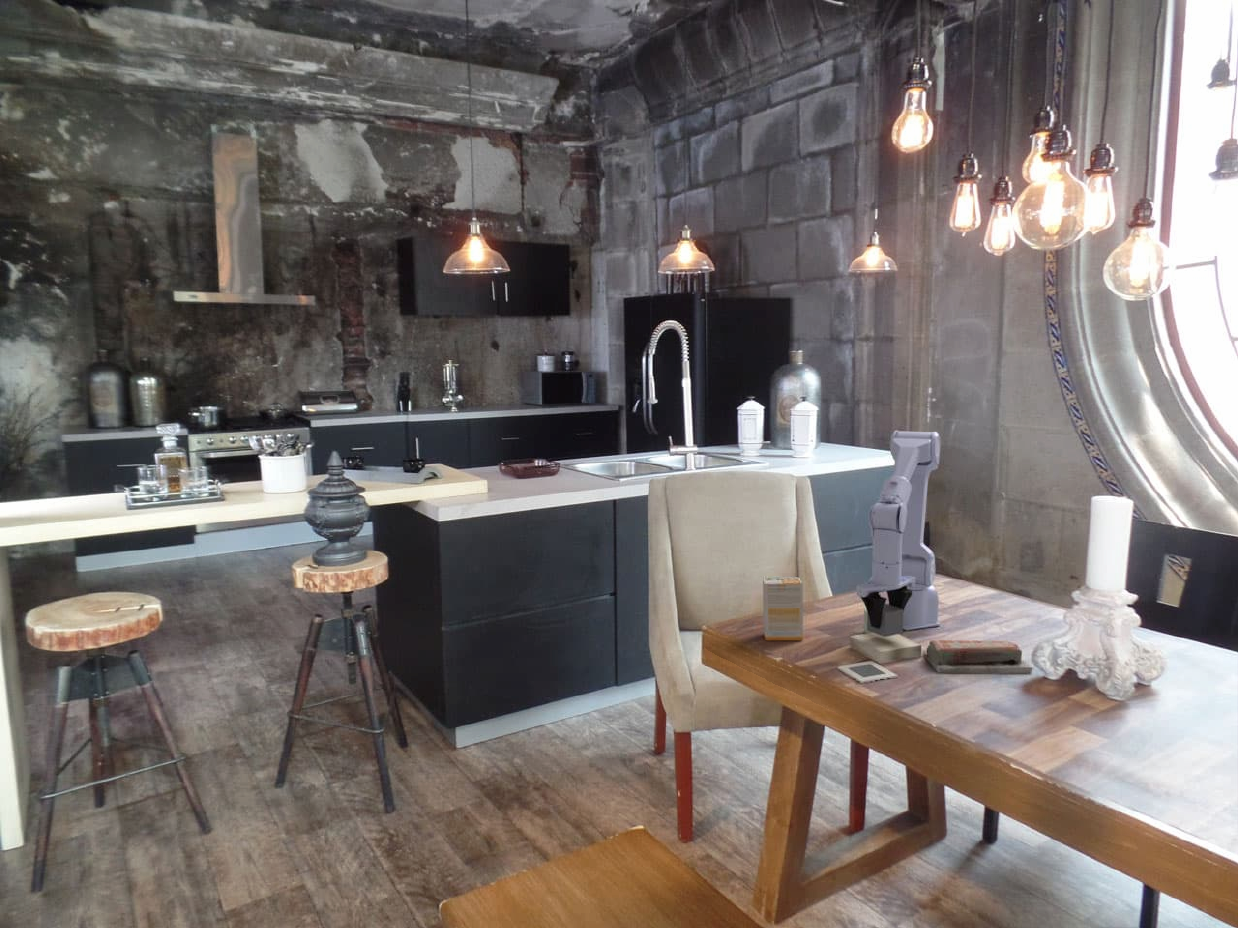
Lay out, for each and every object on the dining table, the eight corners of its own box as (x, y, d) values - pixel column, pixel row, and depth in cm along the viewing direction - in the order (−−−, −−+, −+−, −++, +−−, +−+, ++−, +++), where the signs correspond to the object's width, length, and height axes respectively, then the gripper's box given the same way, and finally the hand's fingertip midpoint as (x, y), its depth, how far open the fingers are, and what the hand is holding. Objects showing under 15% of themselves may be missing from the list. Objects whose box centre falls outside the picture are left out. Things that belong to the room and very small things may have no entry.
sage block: (882, 629, 188) (883, 607, 188) (896, 636, 184) (897, 614, 183) (863, 631, 187) (864, 610, 186) (877, 639, 182) (877, 616, 181)
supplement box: (800, 633, 186) (800, 576, 184) (802, 641, 182) (803, 582, 180) (762, 633, 187) (762, 576, 185) (764, 640, 182) (764, 582, 181)
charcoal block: (884, 626, 177) (885, 603, 176) (902, 632, 172) (903, 609, 172) (867, 630, 174) (867, 606, 174) (884, 637, 170) (885, 613, 169)
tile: (871, 662, 168) (872, 660, 168) (896, 677, 161) (897, 674, 161) (837, 668, 166) (837, 665, 166) (861, 683, 158) (861, 680, 158)
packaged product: (938, 651, 162) (923, 634, 171) (937, 675, 162) (922, 656, 172) (1034, 651, 161) (1013, 633, 170) (1033, 675, 161) (1012, 656, 171)
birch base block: (889, 643, 180) (890, 629, 180) (920, 659, 171) (921, 645, 171) (850, 649, 177) (850, 636, 177) (879, 666, 168) (880, 651, 167)
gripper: (898, 552, 178) (896, 613, 180) (846, 561, 171) (845, 625, 173) (924, 559, 172) (922, 622, 174) (871, 569, 165) (870, 635, 167)
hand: (885, 624), depth 173 cm, fingers closed on charcoal block, 5 cm apart
